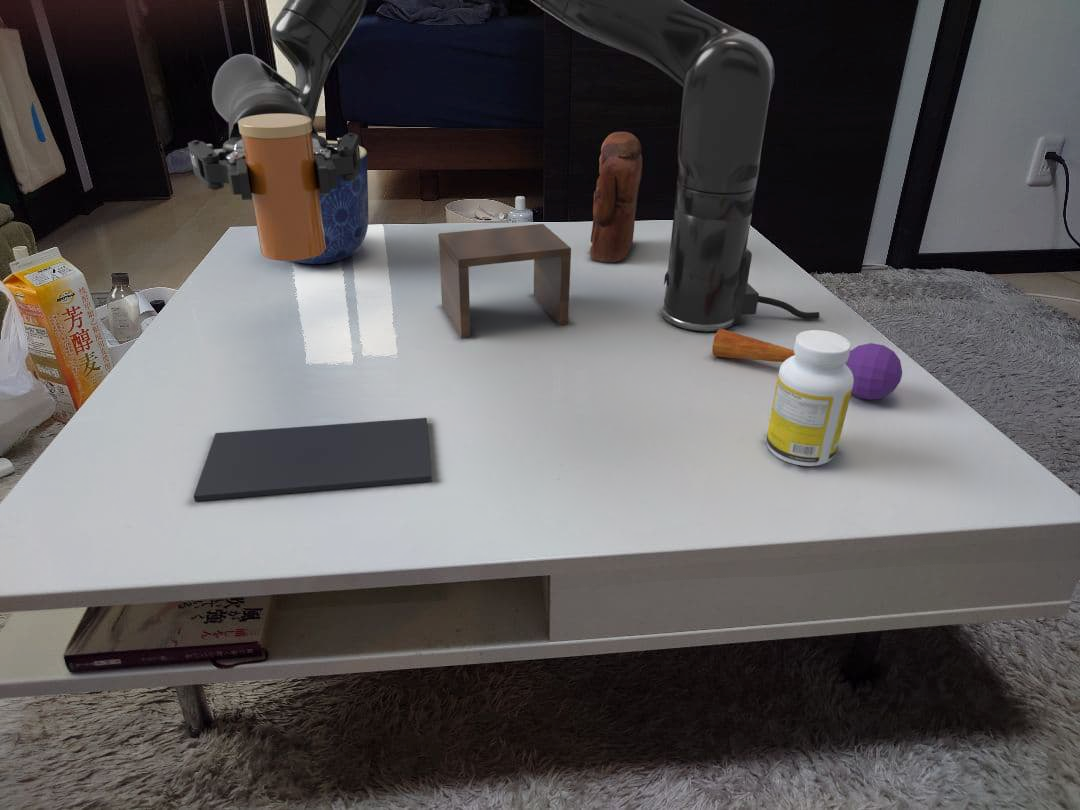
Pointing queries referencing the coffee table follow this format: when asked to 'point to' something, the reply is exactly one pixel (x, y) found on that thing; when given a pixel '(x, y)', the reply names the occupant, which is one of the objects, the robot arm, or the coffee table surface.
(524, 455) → the coffee table surface
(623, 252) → the wooden figurine
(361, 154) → the planter
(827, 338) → the pill bottle
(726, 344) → the purple and wooden maraca
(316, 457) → the mat
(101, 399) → the coffee table surface
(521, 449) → the coffee table surface
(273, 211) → the jar
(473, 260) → the shelf
